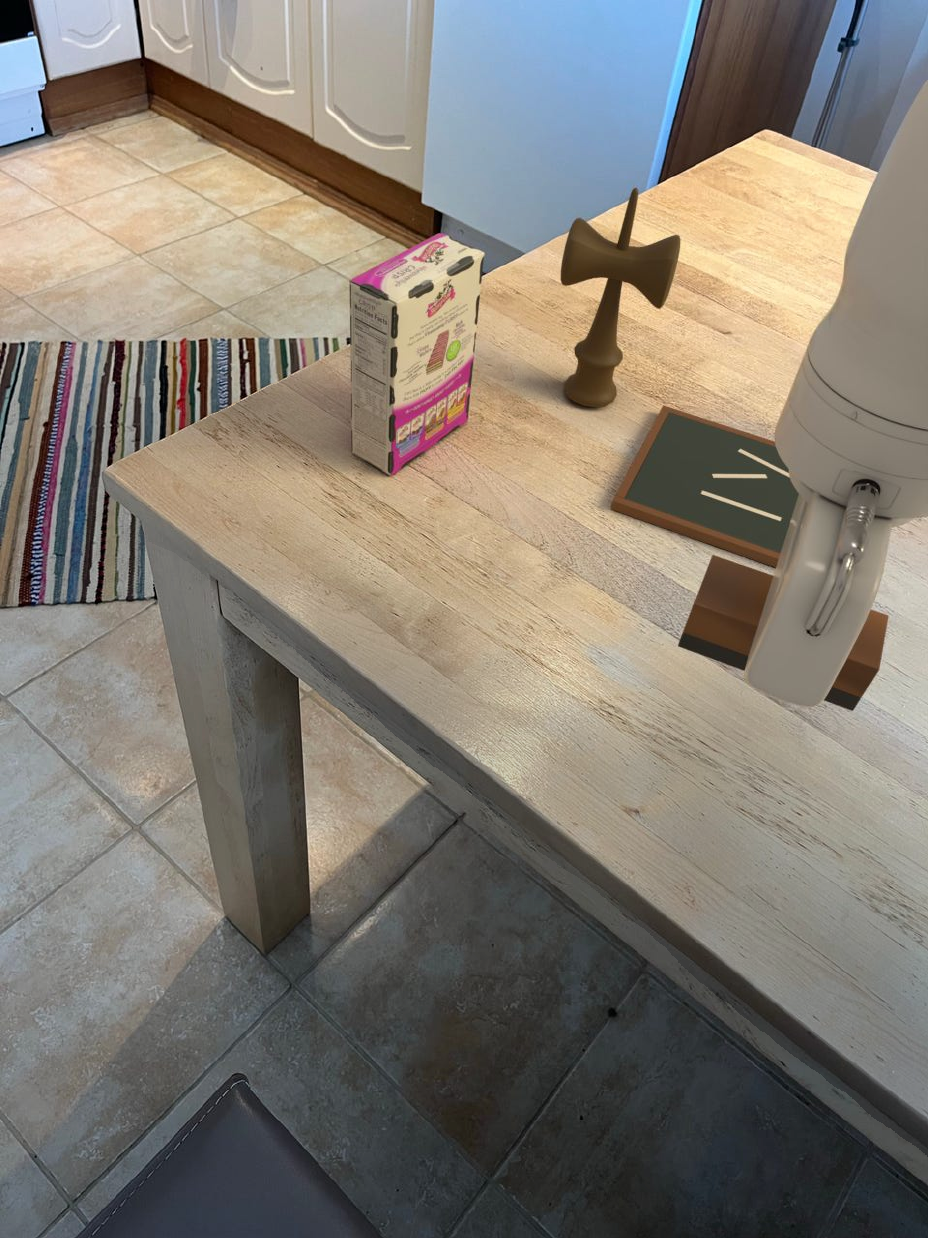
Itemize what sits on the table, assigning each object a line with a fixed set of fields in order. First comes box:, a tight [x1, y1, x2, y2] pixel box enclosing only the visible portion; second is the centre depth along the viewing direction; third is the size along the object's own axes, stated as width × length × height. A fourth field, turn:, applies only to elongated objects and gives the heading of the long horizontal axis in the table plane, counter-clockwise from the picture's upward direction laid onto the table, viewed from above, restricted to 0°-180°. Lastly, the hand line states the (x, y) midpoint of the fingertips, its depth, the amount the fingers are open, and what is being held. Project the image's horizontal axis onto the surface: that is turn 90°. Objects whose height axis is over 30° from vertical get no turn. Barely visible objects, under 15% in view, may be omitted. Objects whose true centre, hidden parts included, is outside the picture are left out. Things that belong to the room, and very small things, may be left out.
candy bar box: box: [348, 232, 485, 477], centre depth 78 cm, size 11×5×16 cm, turn 143°
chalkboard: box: [610, 405, 799, 569], centre depth 83 cm, size 20×16×1 cm
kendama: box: [560, 187, 682, 408], centre depth 84 cm, size 6×10×20 cm, turn 76°
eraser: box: [677, 554, 890, 712], centre depth 53 cm, size 4×10×4 cm, turn 66°
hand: (781, 631), depth 53 cm, fingers closed on eraser, 4 cm apart
